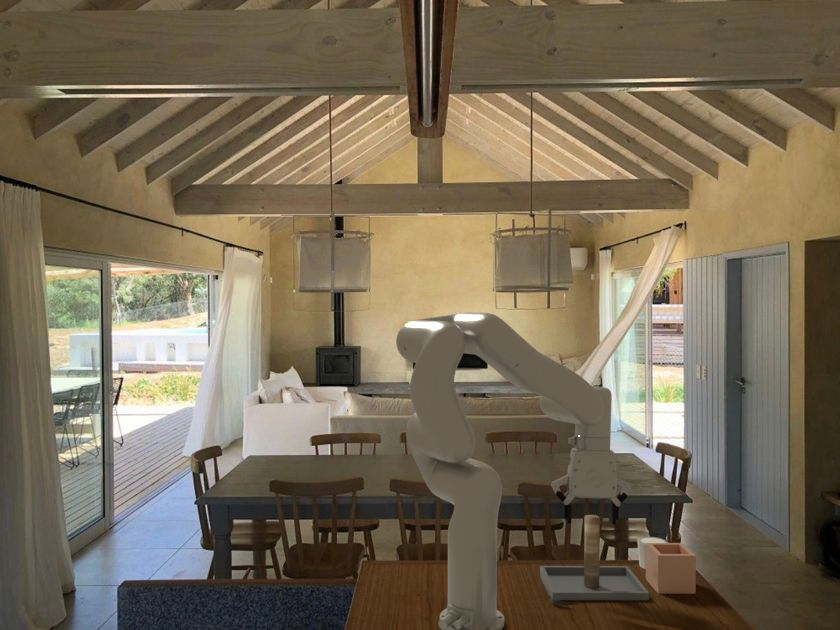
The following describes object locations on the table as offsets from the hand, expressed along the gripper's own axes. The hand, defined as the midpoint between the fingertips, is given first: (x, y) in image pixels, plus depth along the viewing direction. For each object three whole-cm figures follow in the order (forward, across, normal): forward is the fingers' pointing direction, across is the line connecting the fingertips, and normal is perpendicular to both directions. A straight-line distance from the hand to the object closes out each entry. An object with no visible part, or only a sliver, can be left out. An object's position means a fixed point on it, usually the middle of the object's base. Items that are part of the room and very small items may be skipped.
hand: (590, 522), depth 153 cm
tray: (+15, +1, +1) cm, 15 cm away
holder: (+14, +18, +1) cm, 23 cm away
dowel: (+14, +1, +1) cm, 14 cm away
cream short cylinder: (+14, +18, +12) cm, 26 cm away
